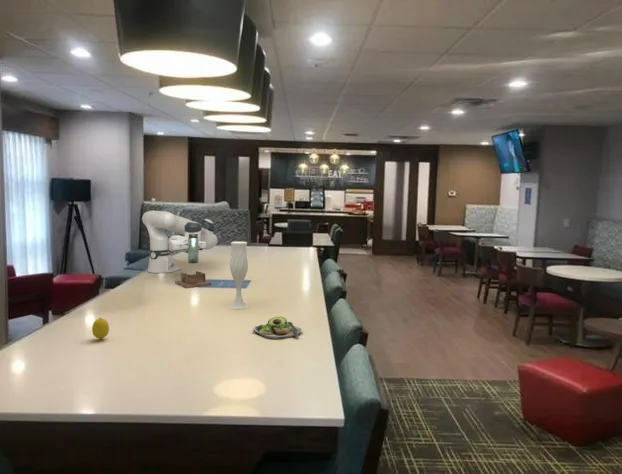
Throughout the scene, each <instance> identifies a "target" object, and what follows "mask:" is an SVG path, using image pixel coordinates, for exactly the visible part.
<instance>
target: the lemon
mask: <svg viewBox="0 0 622 474" xmlns="http://www.w3.org/2000/svg"><path fill="white" fill-rule="evenodd" d="M91 329H92V330H91V331H92V335H93V337H95V338H96V339H99V340H101V341H102V340H103V339H104V338H106V337H107V335H108V334H109V331H110V325H109V322H108V321H107V319H104V318H102V317H98V319H96V320H95V321H94V322H93V324H92V327H91Z"/></svg>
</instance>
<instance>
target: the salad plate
mask: <svg viewBox="0 0 622 474" xmlns="http://www.w3.org/2000/svg"><path fill="white" fill-rule="evenodd" d="M252 331H253V332H254V333H255V334H256V335H259V336H261V337H264V338H268V339H273V340H282V339H287V338H294V337H297V336H299V334H300V333H301V332H302V327H301V328H300V327H298V326H296V325H294V324H293V322H292V321H288V320H287V318H286V317H283V316H275V317H272V318H269V320H268V321H267V323H266V324H259V325H255V326H253V330H252Z"/></svg>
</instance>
